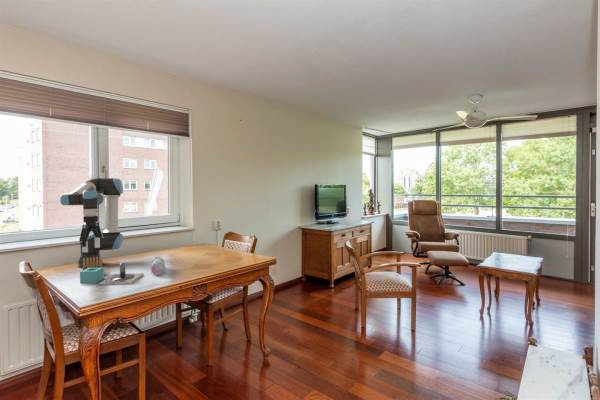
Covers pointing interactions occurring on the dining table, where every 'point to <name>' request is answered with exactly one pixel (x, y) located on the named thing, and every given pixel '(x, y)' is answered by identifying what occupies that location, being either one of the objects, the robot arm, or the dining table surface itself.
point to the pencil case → (157, 266)
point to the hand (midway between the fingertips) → (91, 249)
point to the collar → (91, 275)
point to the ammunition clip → (89, 265)
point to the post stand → (122, 277)
